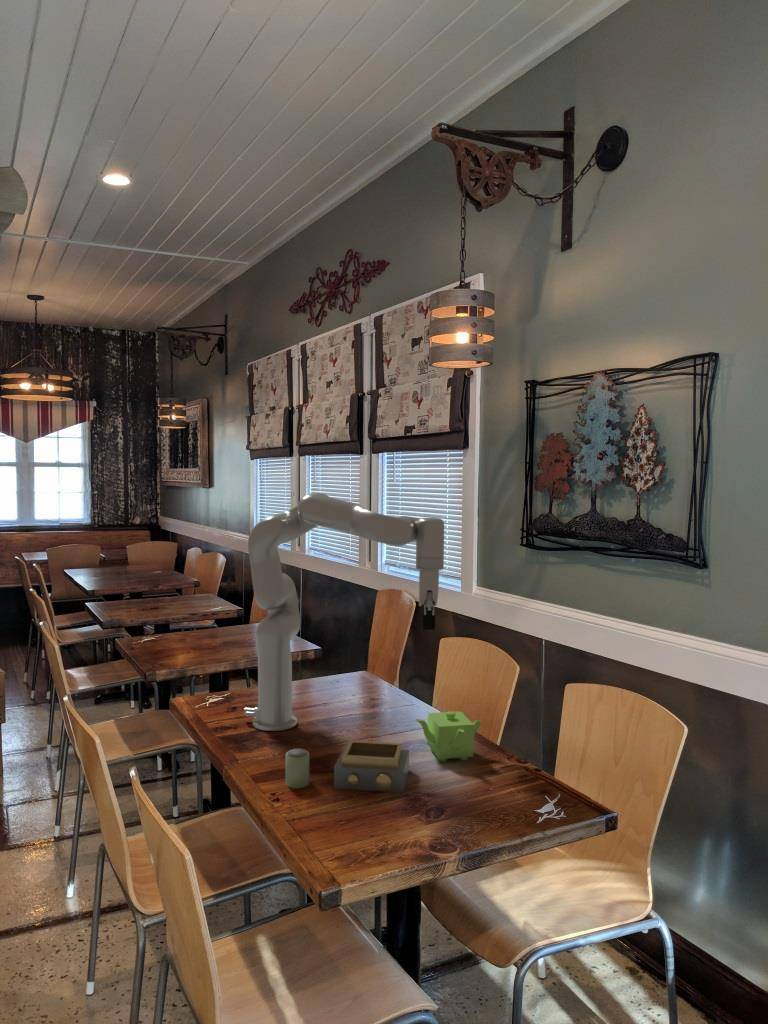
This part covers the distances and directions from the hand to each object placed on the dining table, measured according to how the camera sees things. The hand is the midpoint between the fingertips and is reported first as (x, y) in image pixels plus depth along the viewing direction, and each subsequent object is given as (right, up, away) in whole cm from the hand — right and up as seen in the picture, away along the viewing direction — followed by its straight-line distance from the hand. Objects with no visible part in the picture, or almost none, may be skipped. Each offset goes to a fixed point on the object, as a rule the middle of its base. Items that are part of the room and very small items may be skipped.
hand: (428, 625), depth 206 cm
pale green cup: (-32, -32, -30) cm, 55 cm away
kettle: (+4, -32, -13) cm, 34 cm away
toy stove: (-15, -32, -28) cm, 45 cm away
